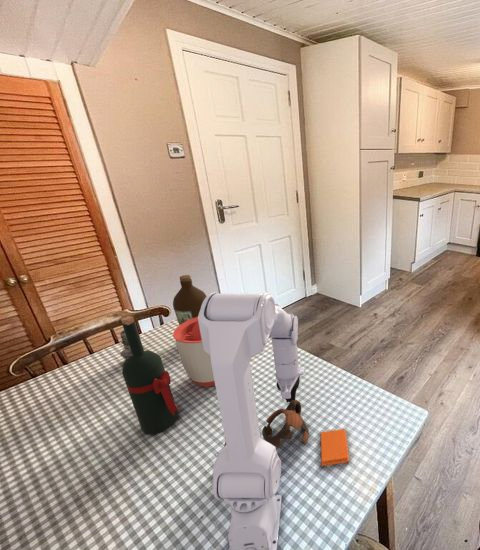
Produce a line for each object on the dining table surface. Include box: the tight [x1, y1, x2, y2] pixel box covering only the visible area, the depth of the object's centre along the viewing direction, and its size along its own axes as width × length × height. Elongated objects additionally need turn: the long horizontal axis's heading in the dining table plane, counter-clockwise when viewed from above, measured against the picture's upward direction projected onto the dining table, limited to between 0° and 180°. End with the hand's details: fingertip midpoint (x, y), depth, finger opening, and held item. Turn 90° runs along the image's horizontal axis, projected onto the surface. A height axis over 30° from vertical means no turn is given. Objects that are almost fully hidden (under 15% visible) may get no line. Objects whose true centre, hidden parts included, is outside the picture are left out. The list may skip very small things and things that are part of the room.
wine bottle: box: [120, 315, 180, 436], centre depth 71 cm, size 8×10×30 cm
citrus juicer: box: [172, 317, 215, 387], centre depth 90 cm, size 16×17×20 cm
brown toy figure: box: [261, 399, 310, 449], centre depth 73 cm, size 12×10×8 cm
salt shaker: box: [119, 328, 132, 362], centre depth 98 cm, size 6×6×12 cm
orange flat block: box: [320, 428, 350, 467], centre depth 70 cm, size 8×6×1 cm
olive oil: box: [172, 274, 207, 326], centre depth 106 cm, size 11×11×25 cm
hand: (290, 400), depth 80 cm, fingers closed
